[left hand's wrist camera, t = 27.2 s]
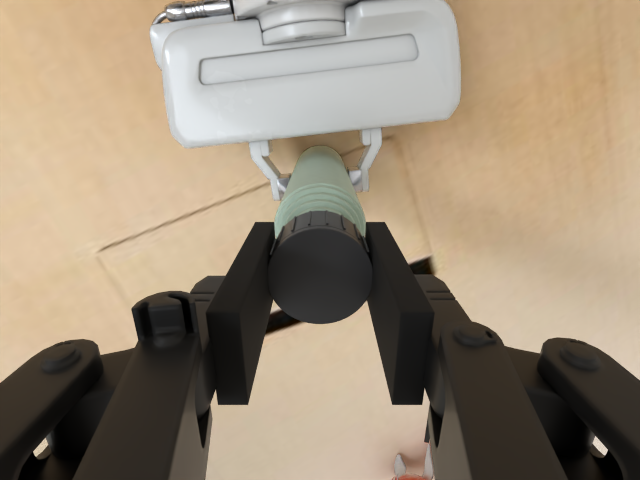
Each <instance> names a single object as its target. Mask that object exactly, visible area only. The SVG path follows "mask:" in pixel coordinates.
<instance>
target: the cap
mask: <svg viewBox="0 0 640 480" xmlns="http://www.w3.org/2000/svg"><path fill="white" fill-rule="evenodd" d="M369 253H370V252H369V249H368V246H367V243H366V240H365V237H364V236H362V235H361V233H360V231H359V230H358V228H357V226H356V224H355V223H354V224H353V223H352V222H351V221H350V220H348V219H347V218H345V217H344V216H343V215H342V214H341V215H339V214H337V213H333V212H329V211H328V210H326V211H309V212H306V213H304V214H301V215H299V216H297V217H296V216H295V217H294V218H293V219H292V220H291V221H289V222H288V223H287V224H286V225H285V226H282V229H281V231H280V233H279V235H278V237H277V239H275V240H274V243H273V246H272V249H271V252H270V255H269V256H270V260H269V264H268V285H269V291H270V294H271V296H272V298H273V299H274V301H275V302H276V304H277V305H278V306H279V307H280V308H281V309H282V310H283V311H284V312H285V313H287V314H288V315H290V316H292V317H293V318H295V319H298V320H300V321H303V322H307V323H313V324H327V323H333V322H337V321H340V320H342V319H345V318H347V317H349V316H350V315H352V314H353V313H355V312H356V311H357V310H358V309H359V308H360V307H361V306H362V305H363V304H364V302H365V301H366V300H367V298H368V296H369V294H370V292H371V288H372V271H373V267H372V263H371V260H370V257H369Z"/></svg>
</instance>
